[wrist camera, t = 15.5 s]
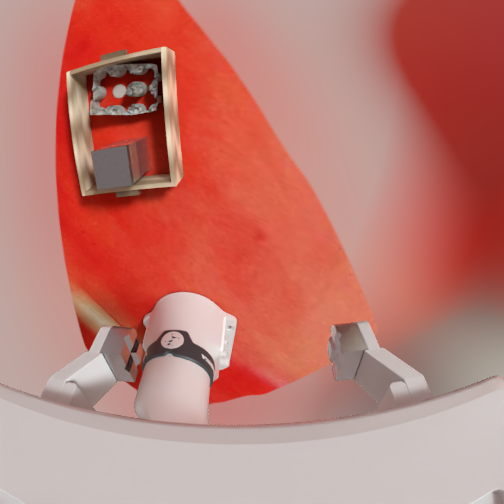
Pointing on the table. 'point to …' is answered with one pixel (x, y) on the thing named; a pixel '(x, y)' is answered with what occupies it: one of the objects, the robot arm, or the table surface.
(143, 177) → the tote
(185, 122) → the table surface
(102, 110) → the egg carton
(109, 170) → the tin
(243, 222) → the table surface
